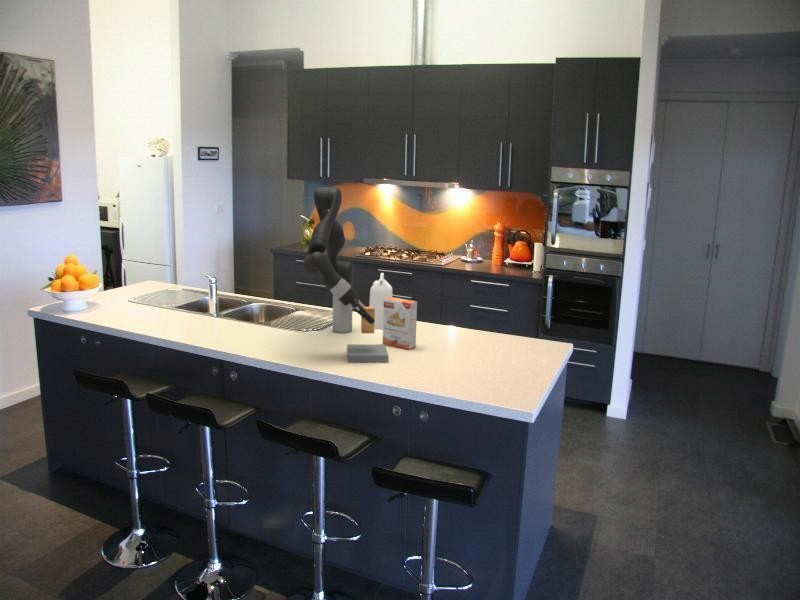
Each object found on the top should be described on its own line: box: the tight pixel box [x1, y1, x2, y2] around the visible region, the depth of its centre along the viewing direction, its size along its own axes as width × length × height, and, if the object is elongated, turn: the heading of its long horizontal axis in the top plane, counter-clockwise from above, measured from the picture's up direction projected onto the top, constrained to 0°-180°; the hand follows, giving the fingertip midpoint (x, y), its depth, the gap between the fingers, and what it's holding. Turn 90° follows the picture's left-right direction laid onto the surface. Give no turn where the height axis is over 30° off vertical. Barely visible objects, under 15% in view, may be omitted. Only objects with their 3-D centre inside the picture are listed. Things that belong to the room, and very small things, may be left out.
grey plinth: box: [346, 343, 389, 364], centre depth 277 cm, size 16×16×3 cm
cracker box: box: [382, 297, 418, 351], centre depth 293 cm, size 14×6×21 cm, turn 57°
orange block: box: [360, 306, 375, 334], centre depth 274 cm, size 5×5×10 cm
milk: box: [368, 272, 393, 331], centre depth 326 cm, size 12×12×26 cm
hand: (372, 320), depth 275 cm, fingers closed on orange block, 5 cm apart
